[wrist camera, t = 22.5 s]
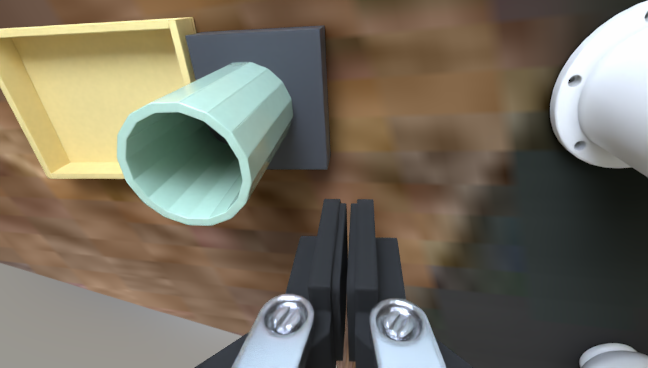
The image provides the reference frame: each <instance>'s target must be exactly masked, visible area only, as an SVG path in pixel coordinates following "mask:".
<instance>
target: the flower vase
mask: <svg viewBox="0 0 648 368" xmlns="http://www.w3.org/2000/svg"><path fill="white" fill-rule="evenodd" d="M579 364H580V368H648V355H645V354H642V353H639V352H637V351H636V350H635V349H633V348H632V347H630V346H628V345H625V344H619V343H607V344H601V345H597V346H594V347H592V348H590V349H588V350H587V351H586V352H584V353H583V354H582V356H581V357H580V360H579Z"/></svg>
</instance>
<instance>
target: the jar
mask: <svg viewBox="0 0 648 368" xmlns="http://www.w3.org/2000/svg"><path fill="white" fill-rule="evenodd" d="M292 118H293V109H292V99H291V97H290V95H289V93H288V91H287V89H286V87H285V85H284V83H283V82H282V81H281V80H280V79H279V78H278V77H277V76H276V75H275V74H274V73H273V72H271V71H270V70H269V69H268V68H265V67H263V66H260V65H257V64H255V63H252V62H237V63H231V64H229V65H227V66H225V67H223V68H221V69H219V70H217V71H215V72H212V73H210V74H208V75H206V76H204V77H202V78H200V79H198V80H196V81H194V82H192V83H190V84H188V85H186V86H184V87H182V88H179V89H177V90H175V91H173V92H171V93H169V94H167V95H165V96H163V97H161V98H159V99H157V100H155V101H153V102H151V103H149V104H147V105H145V106H143V107H141V108H139V109H138V110H136V111H134V112H132V113H130V114H129V115H128V117H127V118H126V120H125V122H124V124H123V125H122V127H121V129H120V131H119V132H118V135H117V160H118V163H119V165H120V168H121V170H122V173H123V175H124V178H125V180H126V181H127V183H128V185H129V186H130V187H131V188H132V189H133V191H134V192H135V193H136V194H137V196H138V197H139V198H140V199H141V200H142V201H143V202H144V203H145V204H146V205H148V206H149V207H151V208H152V209H154V210H155V211H157V212H158V213H160V214H161V215H162V216H164V217H166V218H169V219H172V220H175V221H178V222H181V223H184V224H186V225H203V226H211V225H215V224H218V223H220V222H223V221H226V220H229V219H231V218H233V217H234V216H235V215H236V214H237V213H238V212H239V211H240V210H241V208H242V207H243V206H244V205H245V204H246V203H247V201H248V199H249V198H250V196H251V194H252V193H253V191H254V189H255V187H256V186H257V184H258V182H259V181H260V179H261V177H262V175H263V174H264V172H265V170H266V169H267V167H268V165H269V164H270V162H271V160H272V158H273V157H274V155H275V153H276V152H277V150H278V148H279V146H280V145H281V143H282V141H283V140H284V138H285V136H286V134H287V133H288V131H289V128H290V125H291V122H292ZM207 124H208V125H209V126H210V127H211V128H213V129H214V130H215V131H216V132H217V133H219V134H220V135H221V136H222V137H224V138H225V139H226V141H227V143H228V144H229V145H227V144H225V143H222V142H220V141H219V140H217V139H216V138H215V137H214V136H213V135H212V133H211V132H210V130H209V128H208V126H207Z"/></svg>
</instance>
